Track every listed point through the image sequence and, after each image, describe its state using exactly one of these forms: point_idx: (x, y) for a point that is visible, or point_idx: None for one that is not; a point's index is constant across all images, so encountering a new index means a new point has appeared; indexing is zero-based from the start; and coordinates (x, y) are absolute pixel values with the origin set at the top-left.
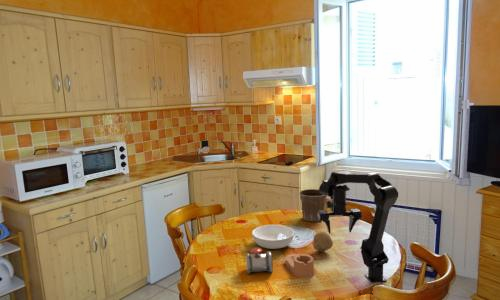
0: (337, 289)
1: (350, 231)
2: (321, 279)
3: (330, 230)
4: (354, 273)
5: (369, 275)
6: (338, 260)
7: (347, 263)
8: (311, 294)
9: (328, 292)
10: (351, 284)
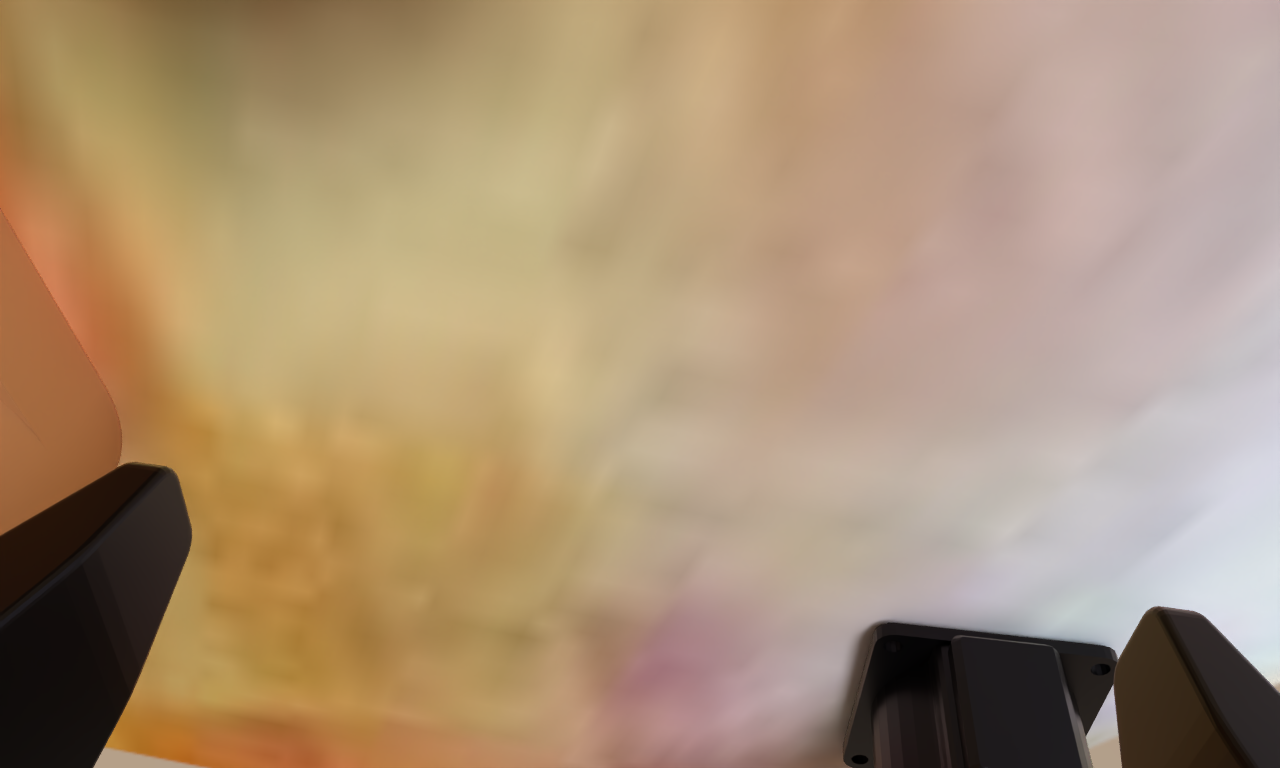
0: (395, 742)
1: (1145, 742)
2: (230, 566)
3: (112, 731)
4: (748, 557)
5: (873, 749)
6: (669, 109)
7: (799, 271)
8: None
9: (288, 754)
10: (588, 718)
